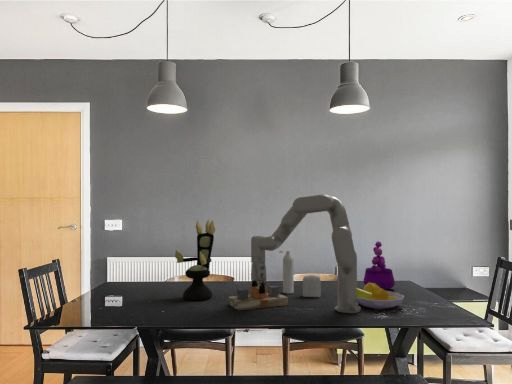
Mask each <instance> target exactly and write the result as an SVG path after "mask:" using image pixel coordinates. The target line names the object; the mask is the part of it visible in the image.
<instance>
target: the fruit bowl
mask: <svg viewBox="0 0 512 384" xmlns="http://www.w3.org/2000/svg"><path fill="white" fill-rule="evenodd" d="M404 298H405V295H404V294H400V293H399V292H396V291H395V292H394V291H390V290H384V289H382V288H380V287H379V286H378V285H376V284H375V283H370V282H369V283H368V284H366V285H365V284H364V286H363V288H362V289H361V288H358V287H357V303H358V305H361V306H362V307H364V308H370V309H374V310H383V309H384V310H385V309H392V308H394V307H396V306H399V305H401V304H402V303H403V300H404Z"/></svg>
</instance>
